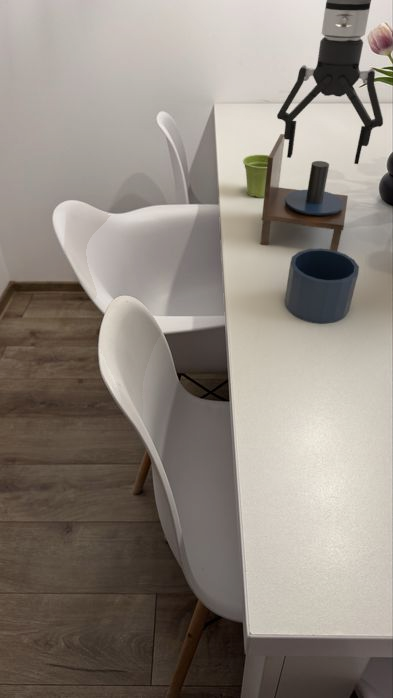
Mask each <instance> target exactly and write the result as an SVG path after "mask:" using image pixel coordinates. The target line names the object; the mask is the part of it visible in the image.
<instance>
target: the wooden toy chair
mask: <svg viewBox="0 0 393 698" xmlns="http://www.w3.org/2000/svg"><path fill="white" fill-rule="evenodd" d="M285 140H286V139H285V138H284V133H280V134H279V136H278V138H277V140H276V142H275V144H274V146H273V148H272V150H270V153H269V154H268V155H269V157H268V164H267V174H266V184H265V194H264V197H263V205H262V215H261V220H262V226H261V234H260V235H261V236H260V245H264V246H268V245H269V243H270V234H271V226H272V225H271V224H272V222H275V223H283V224H290V225H297V226H305V227H312V228H313V227H314V228H321V229H327V230H333V231H332V236H331V242H330V246H329V250H334V251H337V252H338V251H339V250H338V249H339V245H340V241H341V235H342V232H343V231H344V228H345V227H344V226H345V220H346V213H347V205H348V199H349V198H348V197H349V195H347V194H337V193H333V194H334V195H336V196H338V197H339V198H341V199H342V201H343V204H344V205H343V208H342V209H341V210H340V211H339V212H336V213H334V214H329V215H310V214H305V213H301V212H298V211H295V210H293V209H291V208H290V207H288V206H287V205H286V203H285V198H286V196H287V195H288V194H289V193H291V192H294V191H298V190H299V189H295V188H285V187H280V180H281V179H280V178H281V172H282V164H283V163H282V162H283V157H284V156H283V155H284V147H285V146H284V145H285Z"/></svg>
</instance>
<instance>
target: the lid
mask: <svg viewBox="0 0 393 698" xmlns="http://www.w3.org/2000/svg"><path fill="white" fill-rule="evenodd" d="M310 165H311V166H310V170H309V171H310V172H309V178H308V183H307V185H308V186H307V189H297V190H298V191H294V192H291V193H289V194H288V195H287V196H286V198H285V203H286V205H287V206H288V207H290V208H291V209H293V210H295V211H298V212H301V213H305V214H310V215H329V214H334V213H336V212H339V211H340V210H341V209H342V208H343V205H344V204H343V201H342V199H341V198H339V197H338V196H336V195H334V194H335V193H331V192H328V191H325V190H326V185H327V180H328V174H329V169H330V163H329V162H327V161H323V160H315V161H312V162H311V164H310Z"/></svg>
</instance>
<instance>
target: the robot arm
mask: <svg viewBox="0 0 393 698" xmlns="http://www.w3.org/2000/svg"><path fill="white" fill-rule="evenodd" d="M371 3H372V0H326V2H325V7H324V11H323V12H324V13H323V21H322V26H321V27H322V28H321V35H322V36H323V37H322V38H321V39H320V43H319V47H318V57H317V63H316V66H315V68H312V67H307V66H306V65H304V64H303V65H301V67H300V68H299V70H298V75H297V79H296V82H295V83H294V85H293V87H292V89H291V90H290V92H289V94H288V95H287V98H286V99H285V100H284V102H283V104H282V105H281V107H280V109H279V110H278V112H277V114H276V118H277V119H278V120H280V121H281V120H282V121H283V122H284V133H283V134H284V138H285V139H284V140H288V147H287V154H286V158H288V159H291V158H292V156H293V152H294V143H295V136H296V128H297V120H295V118H297V117H298V116H299V115H300V114H301V113H302V112H303V111H304V110H305V108H306V107H308V106H309V105H310V104H311V102H312V101H313V100H314V99H315V98H316V97H318V95H319V94H320V93H321V94H322V95H324V97H325V96H327V97H329V96H334V97H342V96H345V95H346V97H347V99H348V100H349V101H350V104H351V105H352V106H353V108H354V110H355V112H356V113H357V115H358V116H359V118H360V120H361V122H362V124H363V125H361V128H360V131H359V132H360V133H359V138H358V141H357V148H356V152H355V157H354V162H353V164H354V165H359V162H360V157H361V153H362V148H363V147H368V145H369V144H370V139H371V134H372V130H373V129H374V128H377V127H378V128H380V127H382V126H383V125H384V118H383V113H382V109H381V105H380V102H379V98H378V97H379V96H378V93H377V89H376V84H375V77H376V71H375V69H374V68H370V69H369V70H361V71H360V62H361V57H362V51H363V47H364V41H363V39H361V38H362V37H364V36H365V35H366V30H367V24H368V20H369V14H370V10H371ZM310 77H312V78H313V79H314V81H315V84H316V85H315V86H314V87H313V88H312V89H311V90H310V92H308V93H307V95H306V96H305V97H304V98H303V99H301V101H299V103H298V104H297V105H296V106H295V107H294V108H293V109H292V110H291V111H290V112H287V111H288V109H289V108H290V106H291V104H292V103H293V101H294V99H295V98H296V96H297V95H298V92H299V91H300V89H301V87H302V85H303V84H304V82H307V81H308V80H309V79H310ZM359 79H361V81H362V83H363V85H366V90H367V94H368V97H369V101H370V106H371V110H372V113H373V117H374V118H373V119H372V118H371V116H370V114H369V112H368V111H367V109H366V107H365V106H364V104H363V103H362V101H361V99H360V97H359V95H358V93H357V92H356V89H355V88H354V85H355V84H356V83H357V82H358V81H359Z"/></svg>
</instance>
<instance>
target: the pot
mask: <svg viewBox="0 0 393 698" xmlns="http://www.w3.org/2000/svg"><path fill="white" fill-rule="evenodd" d="M359 271H360V266H359V265H358V263H357V262H356V261H355V259H353V258H352V257H351V256H349V255H348V254H346V253H343V252H340V251H338V250H337V251H334V250H330V248H329V249H328V248H323V247H321V248H308V249H304V250H301V251H297V252H296V253H295V254H293V256H291V259H290V263H289V269H288V276H287V282H286V283H287V284H286V289H285V295H284V306H285V307H286V309H287V310H288V312H289V313H290V314H292V315H293V316H294V317H296V318H298V319H300V320H303V321H306V322H309V323H313V324H332V323H337V322H339V321H341V320H342V319H344V318H345V317H346V316H347V315H348V313H349V312H350V308H351V304H352V300H353V295H354V292H355V289H356V284H357V280H358V276H359V273H360V272H359Z"/></svg>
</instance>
